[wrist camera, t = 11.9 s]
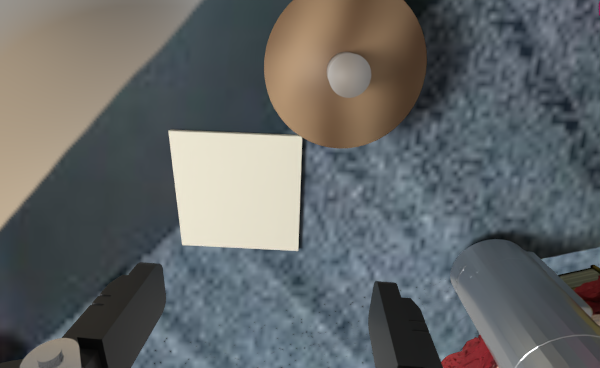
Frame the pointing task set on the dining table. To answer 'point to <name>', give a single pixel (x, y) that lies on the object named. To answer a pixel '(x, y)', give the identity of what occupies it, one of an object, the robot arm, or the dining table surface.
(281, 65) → the lid
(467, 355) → the plate with food
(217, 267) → the dining table surface
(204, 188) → the mat
